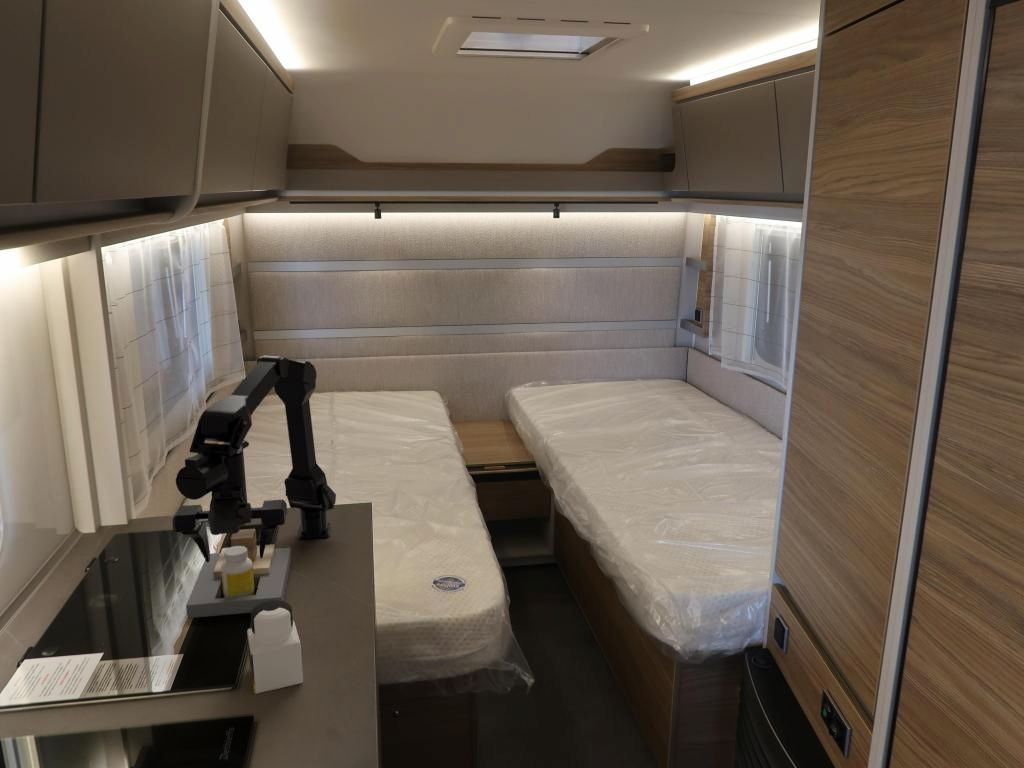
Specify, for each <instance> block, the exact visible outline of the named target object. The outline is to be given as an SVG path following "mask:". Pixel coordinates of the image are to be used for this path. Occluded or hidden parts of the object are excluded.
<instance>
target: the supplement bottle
mask: <svg viewBox="0 0 1024 768" xmlns="http://www.w3.org/2000/svg"><path fill="white" fill-rule="evenodd" d="M227 548H228V549H226V550H225V551H224V558H225V561H224V562H223V564H222V566H221V572H222V583H223V592H222V594H223V598H229V597H240V596H252V595H256V593H255V592H256V589H254V577H253V565H252V561H251V560H250V559H249V558H247V557H248V553H247V548H246V547H244V546H234V547H231V546H230V547H227Z"/></svg>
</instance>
